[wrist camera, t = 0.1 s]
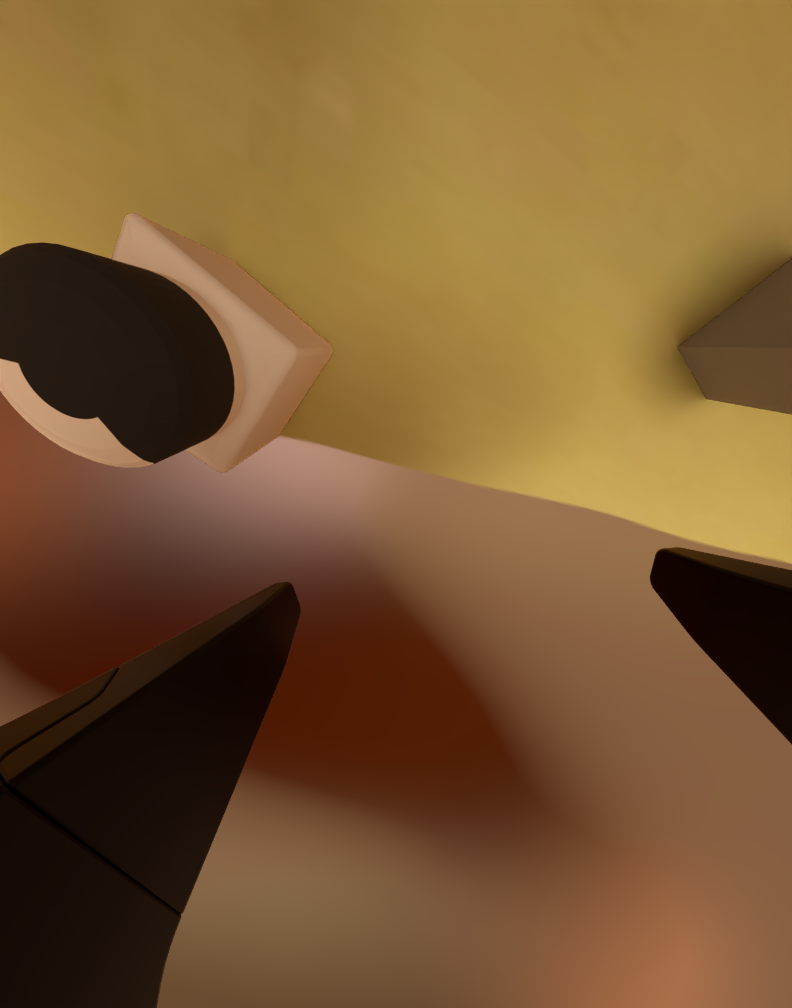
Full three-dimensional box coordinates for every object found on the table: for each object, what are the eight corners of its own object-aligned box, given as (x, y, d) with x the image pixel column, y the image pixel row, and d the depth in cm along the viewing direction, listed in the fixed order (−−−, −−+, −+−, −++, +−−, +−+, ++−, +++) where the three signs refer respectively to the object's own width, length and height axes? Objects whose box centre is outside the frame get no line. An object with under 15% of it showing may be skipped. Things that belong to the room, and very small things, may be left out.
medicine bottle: (229, 256, 17) (-72, 108, 6) (336, 349, 19) (241, 354, 8) (178, 366, 20) (-95, 391, 9) (277, 439, 22) (147, 530, 11)
